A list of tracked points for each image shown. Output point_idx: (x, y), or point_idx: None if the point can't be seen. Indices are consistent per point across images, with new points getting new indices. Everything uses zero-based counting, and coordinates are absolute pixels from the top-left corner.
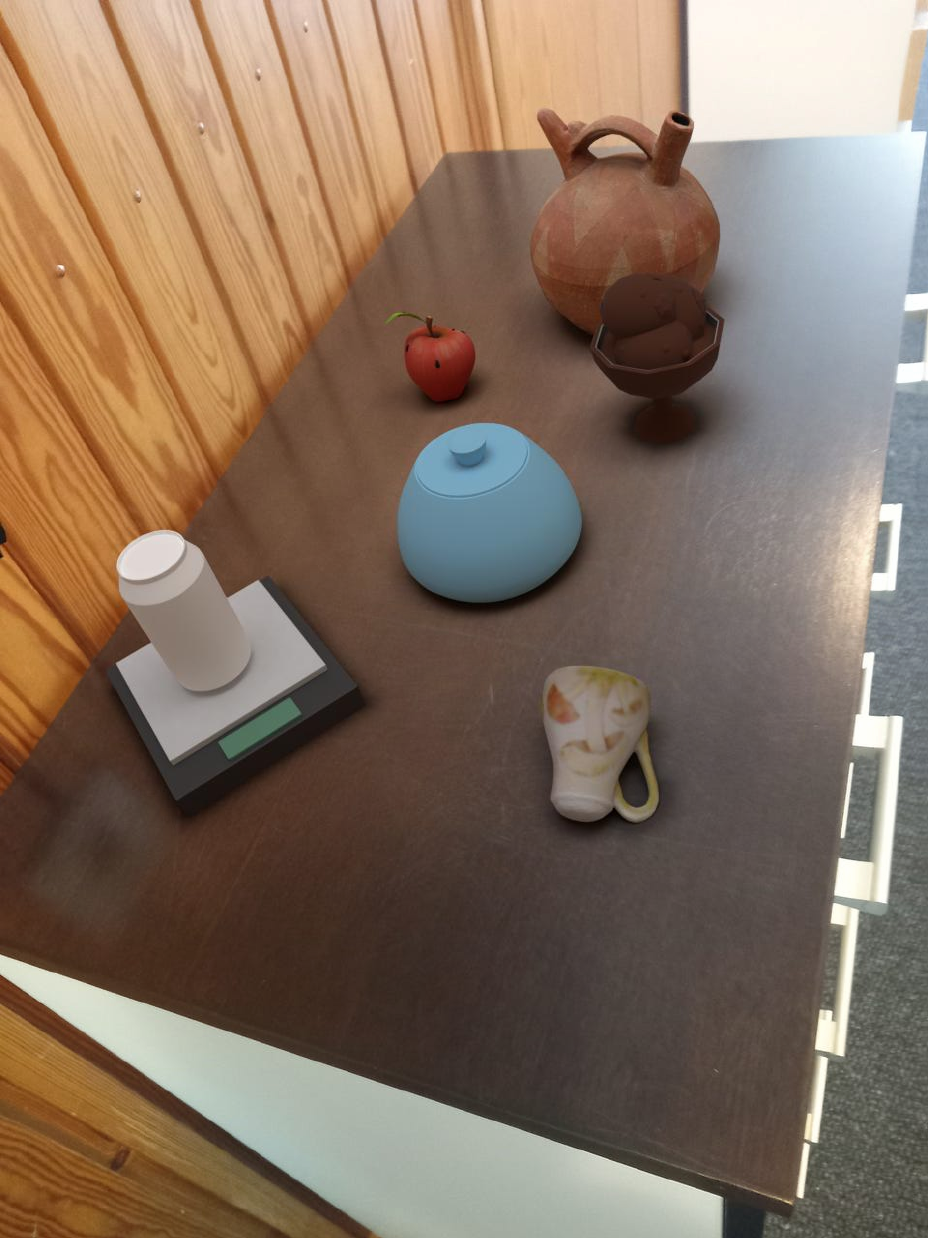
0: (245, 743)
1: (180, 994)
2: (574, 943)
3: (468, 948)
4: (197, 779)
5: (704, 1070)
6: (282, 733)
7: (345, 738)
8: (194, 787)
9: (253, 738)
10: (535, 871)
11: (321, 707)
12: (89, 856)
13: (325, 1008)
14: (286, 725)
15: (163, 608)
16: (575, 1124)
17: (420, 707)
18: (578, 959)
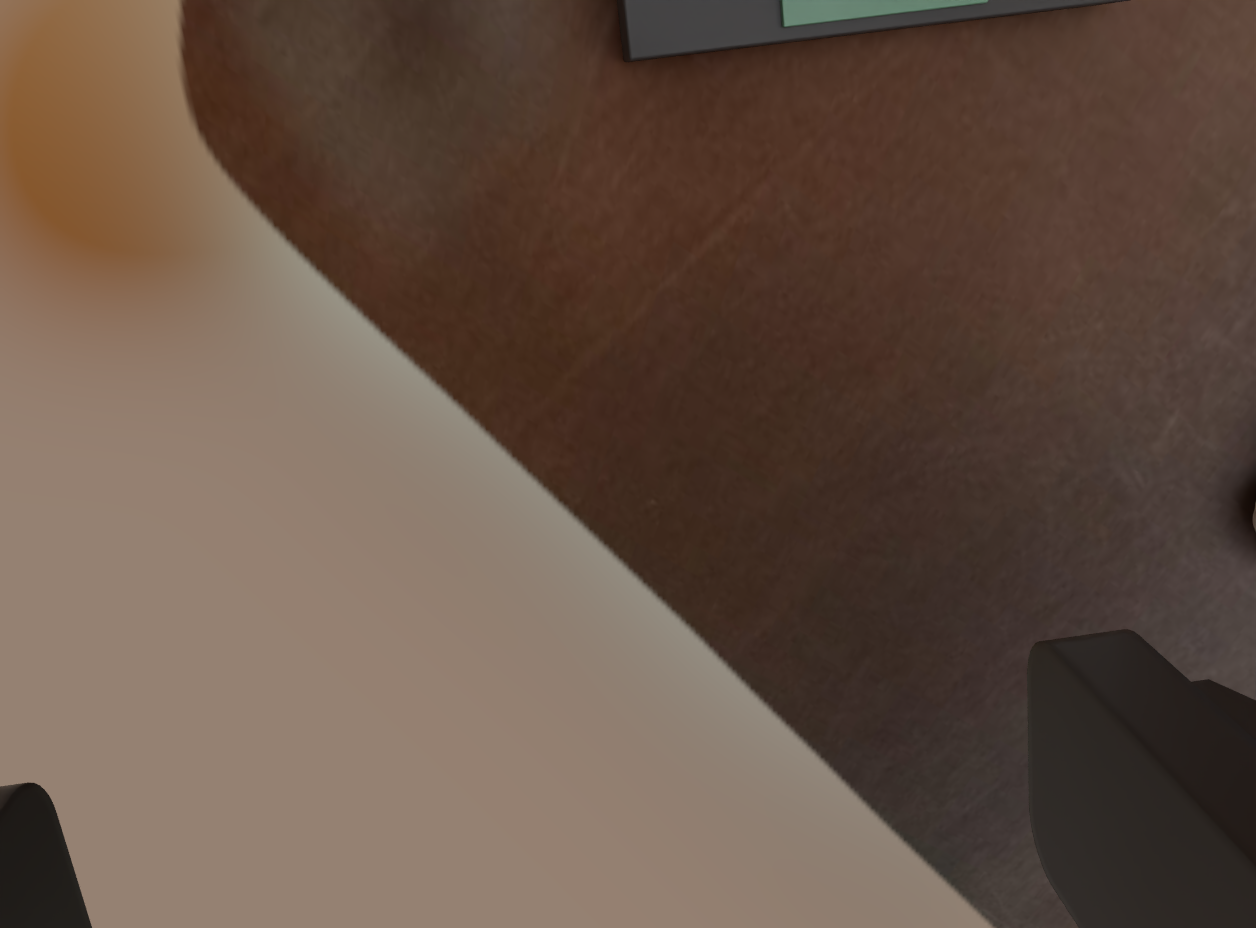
0: (836, 4)
1: (504, 448)
2: None
3: (975, 623)
4: (695, 30)
5: None
6: (921, 24)
7: (1012, 65)
8: (681, 49)
9: (859, 3)
10: (1140, 560)
11: (1032, 6)
12: (380, 15)
13: (729, 598)
14: (940, 9)
15: None
16: (962, 894)
17: (1187, 90)
18: None
